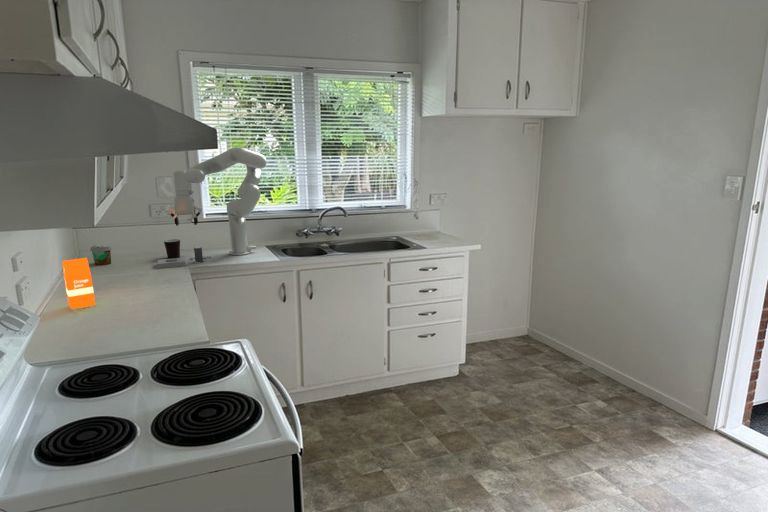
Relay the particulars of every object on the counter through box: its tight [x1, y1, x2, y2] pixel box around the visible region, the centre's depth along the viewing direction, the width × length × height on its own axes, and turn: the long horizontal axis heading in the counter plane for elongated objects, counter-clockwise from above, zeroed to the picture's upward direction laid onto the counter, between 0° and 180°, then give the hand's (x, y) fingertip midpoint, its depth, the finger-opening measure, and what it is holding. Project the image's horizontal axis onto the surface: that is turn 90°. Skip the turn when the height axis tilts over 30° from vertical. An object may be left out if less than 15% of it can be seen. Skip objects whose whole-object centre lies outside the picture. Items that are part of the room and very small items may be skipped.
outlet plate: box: [156, 257, 187, 269], centre depth 275 cm, size 14×10×2 cm
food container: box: [89, 244, 112, 266], centre depth 277 cm, size 12×6×10 cm, turn 68°
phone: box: [190, 255, 212, 261], centre depth 290 cm, size 11×6×1 cm, turn 110°
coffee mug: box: [163, 238, 181, 259], centre depth 293 cm, size 12×9×10 cm
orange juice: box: [62, 257, 96, 309], centre depth 206 cm, size 8×9×20 cm
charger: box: [193, 246, 204, 263], centre depth 281 cm, size 4×4×8 cm
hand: (186, 224), depth 278 cm, fingers open, 9 cm apart
